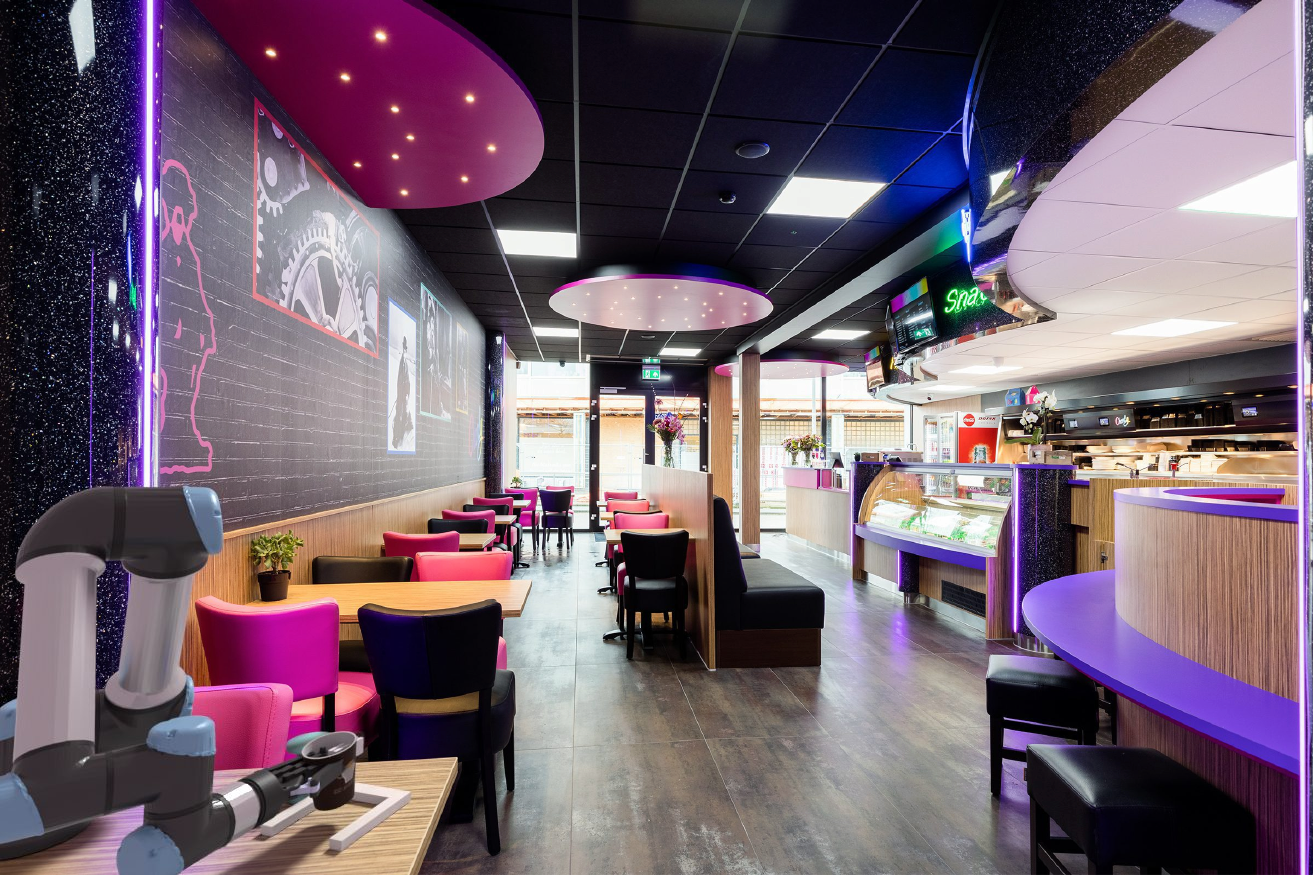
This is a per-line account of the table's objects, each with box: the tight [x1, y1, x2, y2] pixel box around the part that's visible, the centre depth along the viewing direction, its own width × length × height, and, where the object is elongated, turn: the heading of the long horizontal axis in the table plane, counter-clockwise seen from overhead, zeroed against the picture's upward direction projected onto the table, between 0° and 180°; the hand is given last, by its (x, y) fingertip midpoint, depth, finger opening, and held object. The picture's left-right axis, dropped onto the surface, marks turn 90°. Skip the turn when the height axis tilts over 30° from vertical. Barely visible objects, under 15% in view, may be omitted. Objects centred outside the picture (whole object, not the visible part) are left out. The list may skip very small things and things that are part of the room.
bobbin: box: [285, 731, 330, 805], centre depth 121 cm, size 8×8×10 cm
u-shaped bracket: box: [259, 781, 412, 852], centre depth 113 cm, size 17×17×2 cm
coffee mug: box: [302, 730, 366, 812], centre depth 112 cm, size 12×9×10 cm
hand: (359, 744), depth 117 cm, fingers closed on coffee mug
